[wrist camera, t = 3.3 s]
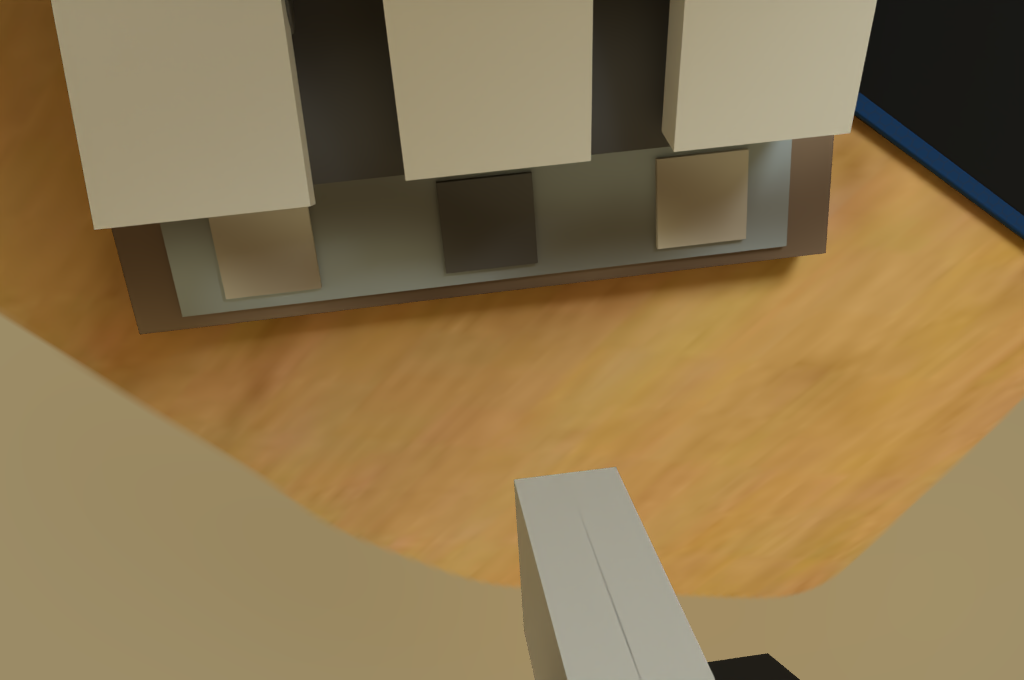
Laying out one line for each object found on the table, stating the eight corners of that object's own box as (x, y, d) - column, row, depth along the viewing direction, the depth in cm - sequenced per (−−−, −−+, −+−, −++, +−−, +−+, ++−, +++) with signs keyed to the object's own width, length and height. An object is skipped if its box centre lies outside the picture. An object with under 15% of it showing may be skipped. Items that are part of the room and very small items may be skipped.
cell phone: (1044, 256, 36) (1057, 263, 35) (771, 55, 31) (780, 58, 30) (1187, 87, 34) (1204, 91, 33) (916, -154, 29) (929, -155, 28)
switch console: (6, -237, 25) (-82, -271, 20) (840, -293, 27) (940, -336, 22) (149, 316, 32) (109, 388, 27) (807, 239, 34) (878, 293, 29)
